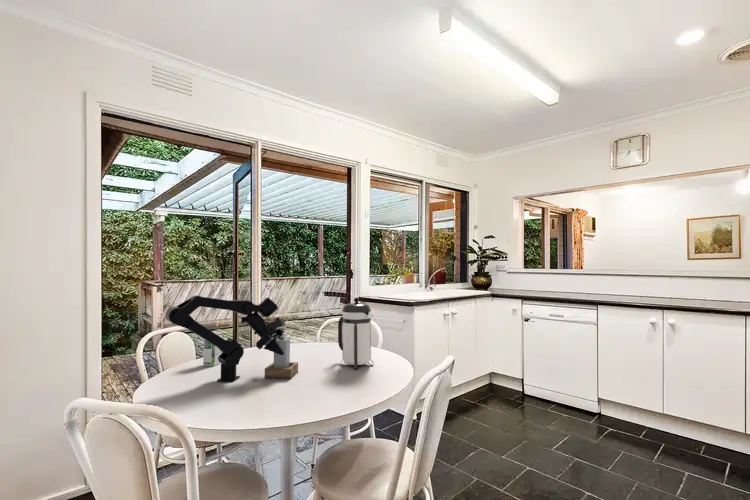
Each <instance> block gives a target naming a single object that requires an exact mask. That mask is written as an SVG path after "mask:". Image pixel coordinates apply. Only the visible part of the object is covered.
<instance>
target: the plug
mask: <svg viewBox="0 0 750 500" xmlns="http://www.w3.org/2000/svg"><path fill="white" fill-rule="evenodd" d="M276 342H277V344H278V345H279V347H280V348H281V349H282V351H283V352H284V354H283V355H280V354H277V353H275V352H273V362H274V368H289V367H290V362H291V358H290V357H291V338H288V337H286V336H283V337H282V336H281V337H279V338H278V339H276Z"/></svg>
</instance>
